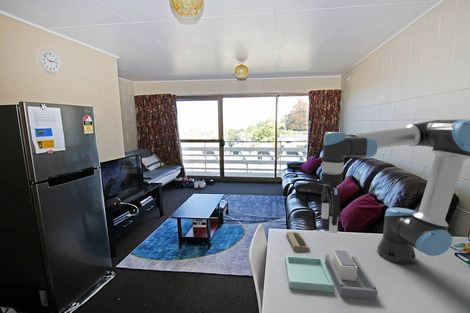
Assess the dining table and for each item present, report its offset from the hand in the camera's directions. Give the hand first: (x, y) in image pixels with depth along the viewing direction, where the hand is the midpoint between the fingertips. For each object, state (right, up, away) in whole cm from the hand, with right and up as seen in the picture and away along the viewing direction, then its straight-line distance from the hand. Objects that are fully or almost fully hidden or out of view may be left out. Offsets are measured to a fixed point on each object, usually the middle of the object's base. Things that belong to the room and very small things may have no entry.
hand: (328, 224), depth 95 cm
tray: (-8, -22, +4) cm, 23 cm away
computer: (-5, -19, +30) cm, 36 cm away
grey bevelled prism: (+9, -22, +7) cm, 24 cm away
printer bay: (+8, -22, +2) cm, 24 cm away
